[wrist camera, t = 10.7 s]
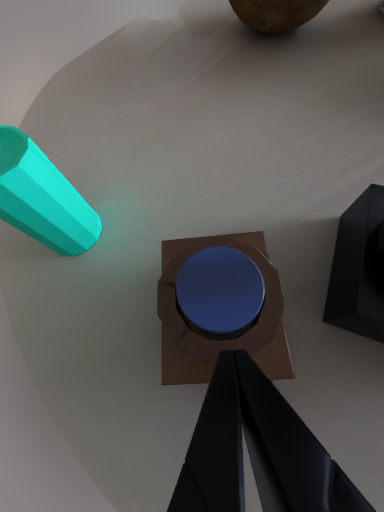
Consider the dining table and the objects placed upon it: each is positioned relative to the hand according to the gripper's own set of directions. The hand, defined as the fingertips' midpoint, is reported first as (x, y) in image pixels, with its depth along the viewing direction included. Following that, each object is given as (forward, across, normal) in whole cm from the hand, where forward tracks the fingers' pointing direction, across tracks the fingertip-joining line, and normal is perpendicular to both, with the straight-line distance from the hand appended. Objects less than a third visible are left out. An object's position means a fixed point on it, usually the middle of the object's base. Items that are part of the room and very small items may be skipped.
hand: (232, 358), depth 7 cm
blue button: (+6, 0, +1) cm, 6 cm away
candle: (+17, +15, -1) cm, 23 cm away
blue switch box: (+10, 0, +6) cm, 12 cm away
